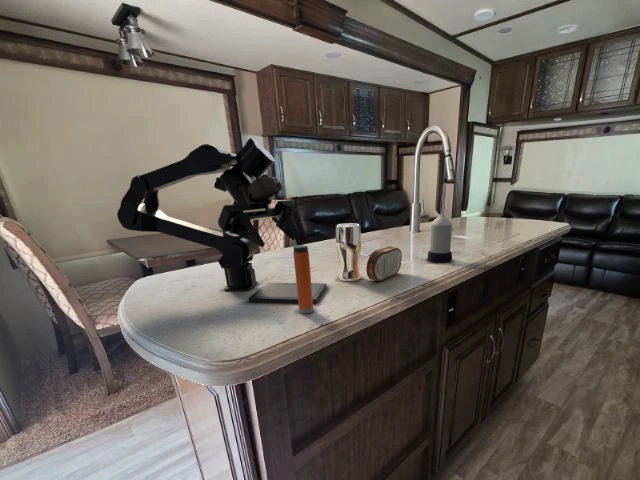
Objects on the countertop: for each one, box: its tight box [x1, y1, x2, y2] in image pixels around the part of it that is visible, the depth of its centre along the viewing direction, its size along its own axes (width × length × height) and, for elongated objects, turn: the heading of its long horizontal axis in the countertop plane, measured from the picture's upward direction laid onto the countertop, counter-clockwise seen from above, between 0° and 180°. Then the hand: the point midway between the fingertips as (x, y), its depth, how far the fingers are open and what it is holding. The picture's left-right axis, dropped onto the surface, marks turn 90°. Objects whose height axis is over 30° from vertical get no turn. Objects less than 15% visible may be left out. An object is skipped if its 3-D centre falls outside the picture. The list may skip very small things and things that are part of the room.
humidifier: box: [427, 182, 453, 264], centre depth 104 cm, size 8×8×25 cm
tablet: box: [248, 282, 328, 304], centre depth 78 cm, size 16×12×1 cm
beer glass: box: [335, 222, 362, 282], centre depth 88 cm, size 7×7×15 cm
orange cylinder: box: [293, 244, 314, 314], centre depth 66 cm, size 3×3×14 cm
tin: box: [365, 245, 403, 282], centre depth 89 cm, size 15×3×8 cm, turn 144°
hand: (279, 242), depth 73 cm, fingers open, 9 cm apart
